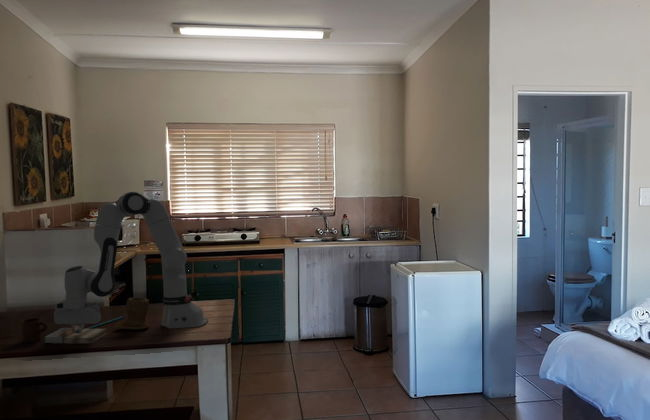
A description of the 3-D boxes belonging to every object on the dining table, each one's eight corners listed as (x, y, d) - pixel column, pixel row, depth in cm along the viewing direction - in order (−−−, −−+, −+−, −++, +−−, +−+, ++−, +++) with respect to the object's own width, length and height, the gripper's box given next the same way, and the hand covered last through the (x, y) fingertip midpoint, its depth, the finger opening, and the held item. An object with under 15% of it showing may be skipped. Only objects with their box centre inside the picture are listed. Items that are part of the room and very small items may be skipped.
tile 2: (73, 332, 232) (71, 328, 232) (67, 335, 227) (65, 331, 227) (64, 337, 233) (61, 333, 233) (57, 340, 228) (55, 337, 228)
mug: (54, 339, 233) (52, 318, 232) (41, 344, 226) (39, 323, 225) (32, 337, 236) (31, 317, 235) (18, 342, 228) (17, 322, 228)
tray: (79, 334, 240) (79, 327, 240) (62, 343, 226) (62, 336, 226) (62, 334, 240) (62, 327, 240) (45, 343, 226) (44, 336, 226)
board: (107, 333, 239) (107, 328, 239) (92, 343, 225) (91, 337, 225) (80, 334, 240) (80, 328, 240) (63, 343, 226) (63, 337, 226)
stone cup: (154, 325, 252) (153, 295, 251) (142, 332, 240) (141, 300, 240) (126, 324, 255) (125, 295, 254) (113, 331, 243) (111, 300, 242)
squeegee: (110, 314, 272) (123, 315, 267) (110, 317, 272) (124, 318, 267) (62, 329, 246) (76, 331, 241) (62, 333, 246) (77, 335, 242)
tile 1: (80, 328, 238) (78, 324, 238) (74, 331, 233) (72, 327, 233) (71, 333, 239) (69, 330, 238) (65, 337, 234) (63, 333, 233)
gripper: (102, 300, 231) (104, 330, 232) (59, 301, 233) (61, 331, 234) (95, 304, 225) (97, 335, 226) (50, 304, 227) (52, 335, 227)
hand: (78, 333), depth 230 cm, fingers closed
